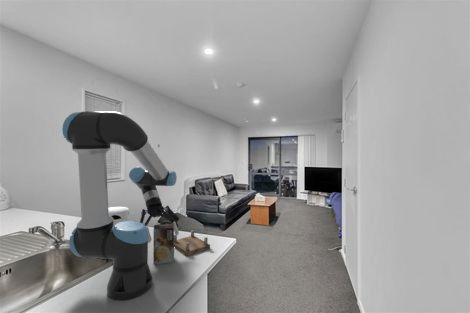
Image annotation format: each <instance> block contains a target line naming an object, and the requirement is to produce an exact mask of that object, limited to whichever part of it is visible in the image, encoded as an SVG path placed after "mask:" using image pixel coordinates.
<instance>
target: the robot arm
mask: <svg viewBox="0 0 470 313" xmlns="http://www.w3.org/2000/svg"><path fill="white" fill-rule="evenodd" d="M62 135H63V138H64V139H65V140H66V141H67V142H68V143H70V144H71V148H72V151H74V152H75V153H76V154H77V158H78V159H77V162H78V176H79V177H78V178H79V194H80V195H79V198H80V211H81V212H80V214H81V216H80V217H81V219H80V220H79V221H78V222H77V223H76V227H75V228H74V229H73V230H72V232H71V235H70V237H69V241H68V243H69V244H68V245H69V249H70V251H71V253H72V254H74V255H75V256H76V257H81V258H85V259H101V260H103V259H104V260H112V271H111V274H110V277H109V280H108V283H107V286H106V294H107V297H109V298H110V299H112V300H116V301H122V300H123V301H124V300H125V301H126V300H131V299H134V298H137V297H139V296H141V295H143V294H145V293H146V292H147V291H149V290H150V289H151V287H152V285H153V274H152V272H151V269H150V266H149V262H148V256H149V255H148V254H149V252H148V251H149V250H148V248H149V244H150V243H151V241H152V235H151V232H150V229H149V228H150V227H149V226H148V225H149V223H150V221H151V219H152V218H153V219H154V218H159V217H161V218H164V219H166V220H167V221H169V222H170V223H171V224H174V235H176V236H177V237H178V235H179V234H180V231H179V229H178V228H179V225H178V221H180V217H179V216H178V215H177V214H176V213H175V212H174V211H173V210H172V209H171V208H170V206H169V205H166V206H163V204H162V200H161V197H160V194H159V191H158V188H157V186H159V187H160V186H161V187H172V186H175V185H176V182H177V177H178V176H177V173H176V172H175V171H173V170H168V169H167V167H166V166H165V164H164V163H163V161H162V160H161V158H160V157H159V156H158V154H157V152H156V151H155V150H154V148H153V147H152V145H151V144H150V143H149V137H148V134H147V133H146V132H145V130H144V129H143V128H142V127H141V125H139V124H138V123H137V122H136V121H135V120H133V119H132V118H131V117H129V116H127V115H125V114H123V113H122V112H117V111H113V110H112V111H111V110H110V111H109V110H108V111H100V110H99V111H95V110H93V111H92V110H91V111H90V110H83V111H76V112H72V113H70V114H69V115H68V116H67V117H65V120H64V121H63V124H62ZM111 145H116V146H120V147H122V148H123V149H124V150H125V151H127V152H131V154H132V155H133V156H134V157H135V159H136V160H137V161H138V163H140V164H141V166H143V167H141V166H135V167H133V168H132V169H130V171H129V174H128V177H129V179H130V180H131V182H132V183H134V184H135V185H136V186H137V187H138V188H139V190H140V191H141V193H142V196H143V199H144V202H145V206H146V209H145V208H143V209H141V212H140V214H141V216H140V220H139V221H135V220H129V222H127V221H124V222H119V223H117V224H116V225H115V226H114V223H113V217H111V216H110V215H109V211H108V208H109V192H108V170H107V169H108V168H107V152H109V151H110V150H111ZM147 214H148V215H149V216H148V217H147V220H146V221H145V216H146V215H147ZM144 221H145V223H144Z"/></svg>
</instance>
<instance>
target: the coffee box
mask: <svg viewBox="0 0 470 313" xmlns="http://www.w3.org/2000/svg"><path fill="white" fill-rule="evenodd" d="M174 235H175V232H174V224H173V223H167V224H165V223H162V224H154V226H153V248H152V249H153V253H152V254H153V257H152V258H153V259H152V260H153V264H152V265H160V264H166V263H175V248H174Z"/></svg>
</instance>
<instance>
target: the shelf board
mask: <svg viewBox="0 0 470 313" xmlns="http://www.w3.org/2000/svg"><path fill="white" fill-rule="evenodd" d="M203 239H204V240H203ZM203 239H200V238H199V237H197V236H195V230H190V236H186V237H183V238H178V235H177V236H176V235H175V234H174V247H175V248H174V249H176V250H177V251H178V250H179V251H178V252H180V253H181V254H182V255H183V256H185V257H188V256H191V255H195V254H197V253H201V252H204V251H207V250H210V249H211V244H209V243H208V239H209V238H208V237H204V238H203Z"/></svg>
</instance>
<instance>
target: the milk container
mask: <svg viewBox="0 0 470 313" xmlns="http://www.w3.org/2000/svg"><path fill="white" fill-rule="evenodd" d="M108 211H109V215H110V216H111V217H113V223H114V226H115V225H116V224H117V223H119V222H124V221H127V222H129V221H130V209H129V207H128V206H110V207H109V206H108Z"/></svg>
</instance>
